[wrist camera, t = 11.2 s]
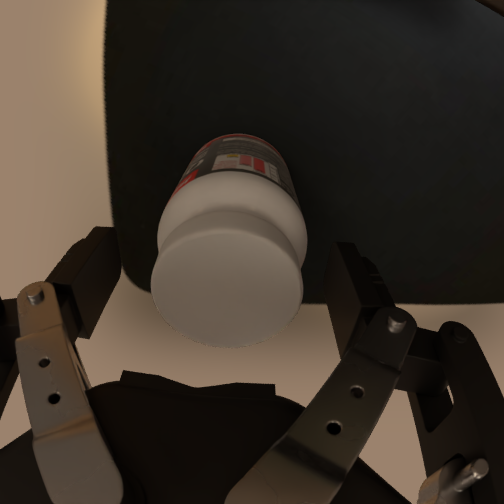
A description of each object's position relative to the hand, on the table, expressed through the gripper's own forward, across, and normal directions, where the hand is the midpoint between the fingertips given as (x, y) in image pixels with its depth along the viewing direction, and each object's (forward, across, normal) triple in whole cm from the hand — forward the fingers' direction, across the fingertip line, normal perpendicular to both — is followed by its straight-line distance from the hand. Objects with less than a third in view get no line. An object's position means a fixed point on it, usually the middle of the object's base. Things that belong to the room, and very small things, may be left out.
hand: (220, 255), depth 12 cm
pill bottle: (+8, 0, 0) cm, 8 cm away
